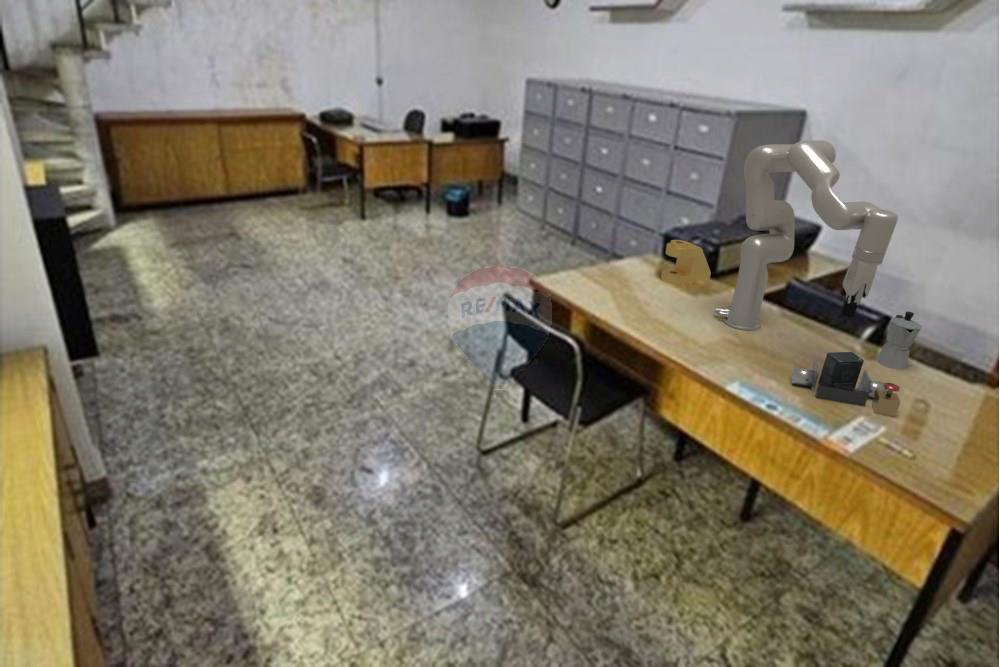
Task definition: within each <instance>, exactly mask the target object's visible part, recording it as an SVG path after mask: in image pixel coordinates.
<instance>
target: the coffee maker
mask: <svg viewBox="0 0 1000 667" xmlns="http://www.w3.org/2000/svg"><path fill="white" fill-rule="evenodd" d="M914 315H915V313H914V312H911V311H905V313H904V316H903V315H901V314H897V315H895V317H892V318H891V319H890V320H889V325H888V330H887V334H886V339H885V340H886V342H885V343H884V344H883V346H882V348H881V350H880V351H879V353H878V355H877V356H876V358H875V359H876V361H877V364H880V365H881V366H883V367H886V368H888V369H894V370H899V371H902V370H904V369H907V368H908V362H909V356H910V352H911V351H910V348H911V347H912V346H913V343H914V342H915V340H916V338H917V336H918V334H919V333H920V330H921V329H922V327H923V325H921V324H919V323H918V322H917V321H915V320H912V318H913V317H914Z"/></svg>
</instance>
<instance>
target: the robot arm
mask: <svg viewBox="0 0 1000 667" xmlns="http://www.w3.org/2000/svg"><path fill="white" fill-rule="evenodd" d="M836 157H837V152H836V149H835V147H834V145H833V144H832V143H830V142H828V141H826V140H801V141H797V142H796V143H794V144H789V143H788V144H787V143H785V144H784V143H783V144H781V143H780V144H778V143H777V144H775V143H774V144H763V145H759V146H757V147H755V148H753V149H752V150H751V151H750V152H749V153H748V155H747V156H746V158H745V161H744V165H743V173H744V174H743V175H744V181H745V220H746V226H747V227H748V228H749V229H750V230H754V231H769V233H763V234H756V235H755V234H754V235H752V236H749V237H747V238H746V239H745V240H744V241H743V242H742V244H741V248H740V260H739V261H740V263H739V269H738V274H737V278H736V283H735V288H734V291H733V294H732V295H733V296H732V300H731V304H730V305H729V306H728V308H721V307H718V306H717V307H715V311H714V314H715V313H716V314H718V316H722V321H723V323H725V324H726V325H727V326H729V327H731V328H734V329H737V330H741V331H749V332H750V331H751V332H752V331H758V330H759V329H761V327H762V322H761V321H760V320H759V315H760V312H761V308H762V304H763V302H764V301H763V300H764V297H765V292H766V288H767V285H768V281H769V271H768V268H767V264H770V263H771V264H772V263H781V262H785V261H787V260H789V259H790V258H791V257H792V255H793V254H794V249H795V221H796V220H795V219H796V218H795V216H796V215H795V212H794V209H793V206H792V205H791V204H790V203H789V202H788V201H786V200H783V199H781V200H780V199H778V200H776V199H775V185H774V181H773V180H772V178H771V176H770V175H769V174H770V173H794V172H795V173H796V174H797V175H798V176H799V178H801V180H802V181H803V182H804V183H805V184H806V186H807V187H808V188H809V189H810V191H811V199H810V200H811V203H812V208H813V210H814V212H815V213H816V214H817V215H818V217H819V218H820V219H821V221H823V223H824V224H825V225H826V226H828V227H829V228H830V229H832V230H835V231H849V230H860V231H859V235H858V237H857V241H856V244H855V247H854V248H853V253H852V255H851V258H852V260H851V261H850V264H849V266H848V269H847V271H846V274H845V276H844V279H843V281H842V288H843V289H844V291H845V293H846V297H845V300H844V302H843V306H842V309H841V311H840V313H841V316H843V317H850V318H854V317H855V315H856V312H857V309H858V306H859V304H860V303H861V301H862V298H863V299H866V298H867V297H868V296H869V294H870V291H871V289H872V285H873V284H874V279H875V276H876V273H877V269H878V266H879V265H882V264H883V261H884V258H885V255H886V252H887V250H888V248H889V245H890V242H891V241H892V236H893V233H894V232H895V228H896V226H897V223H898V221H899V220H898V219H899V217H898V214H897V213H895V212H893V211H891V210H887V209H882V208H880V207H878V206H877V205H874V204H873V203H871V202H868V201H848V202H847V201H846V202H844V201H842V200H841V199H840V198H839V197H838V196H837V195H836V193H835V192H834V190H833V189H832V188H833V187H834V186H835V185H836V184H837V182H838V181H839V179H840V176H841V174H840V170H839V169H838V168H837V167H836V166H835V165H834V163H835V160H836Z"/></svg>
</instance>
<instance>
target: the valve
mask: <svg viewBox="0 0 1000 667" xmlns="http://www.w3.org/2000/svg"><path fill="white" fill-rule="evenodd" d="M884 383H885V384H884V387H885V388H886V389H887V391H882V390H878V389H877V390H876V393H875V395H874V398H872V400H871V404H870V405H871V408H872V411H873V414H877V415H883V416H886V417H891V418H892V417H893V418H896V416H897V412H898V410H899V407H900V404H901V403H902V402H901V399H900V397H899V395H898V393H897V392H900V389H901V387H900V386H899V385H897V384H896V383H892V382H884Z"/></svg>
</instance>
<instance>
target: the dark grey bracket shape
mask: <svg viewBox="0 0 1000 667" xmlns="http://www.w3.org/2000/svg"><path fill="white" fill-rule="evenodd" d="M820 374H821V372H820V368H819V366H818V362H817V361H813V364H812V367H811V369H809V368H802V367H797V366H794V367H793V369H792V371H791V377H790V383H791V384H792V385H798V386H799V385H800V386H804V387H809V388H810V390H811V392H814V391H815V388H816V385H817V383H818V380H819V377H820V376H819V375H820ZM885 383H886V382H883V381H882V382H880V381H875V380H872V379H871V376H870V375H869V373H868V371H867V370H865V369H864V370H863V372H862V375H861V377H860V380H859V383H858V386H857V389H849V388H843V387H838V386H832V385H827V384H821V383H819V384H818V385H817V388H816V392H815V394H814V395H815V396H814V397H815V398H816V399H821V400H827V401H831V402H832V401H833V402H837V403H842V404H843V403H844V404H849V405H854V406H855V405H856V406H860V407H861V406H862V407H866V404H867V401H868V398H870V399H873V398H874V395H875V393H876V390H877V389H878V390H882V391H888V389H886V388H885V387H884V384H885Z"/></svg>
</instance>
